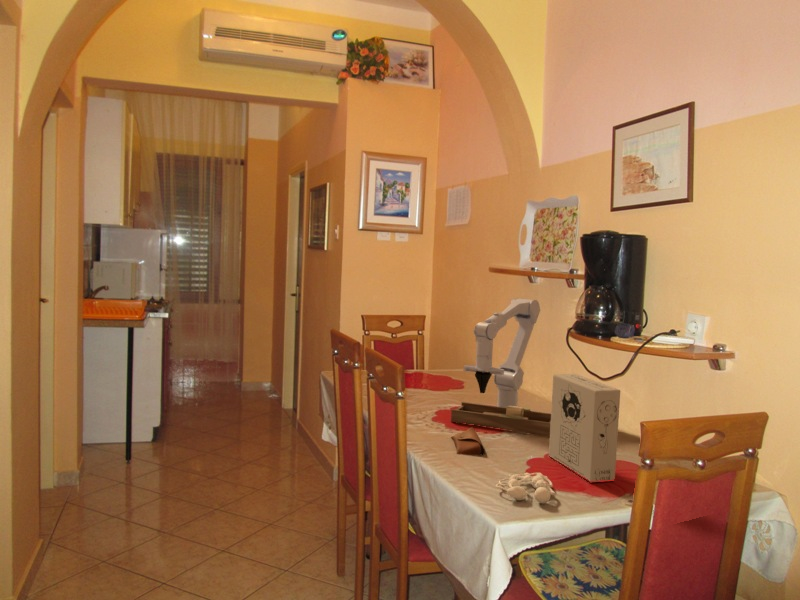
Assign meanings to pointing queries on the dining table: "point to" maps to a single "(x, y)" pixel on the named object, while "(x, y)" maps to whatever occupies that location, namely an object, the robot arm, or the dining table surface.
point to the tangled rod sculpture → (537, 482)
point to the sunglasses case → (468, 443)
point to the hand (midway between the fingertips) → (482, 392)
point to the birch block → (515, 411)
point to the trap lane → (502, 418)
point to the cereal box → (584, 426)
